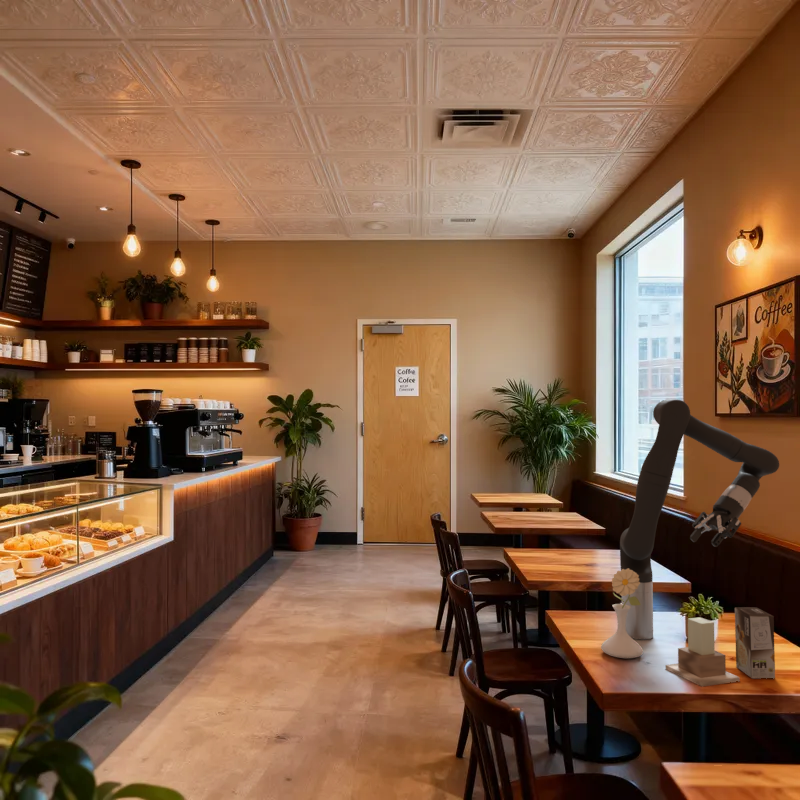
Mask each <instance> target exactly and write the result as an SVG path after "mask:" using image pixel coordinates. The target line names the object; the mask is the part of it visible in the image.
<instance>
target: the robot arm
mask: <svg viewBox="0 0 800 800" xmlns="http://www.w3.org/2000/svg"><path fill="white" fill-rule="evenodd" d="M652 413H653V414H652V415H653V418H654V421H655V422H656V423H657V424H658V428H657V429H658V430H657V433H656V438H655V440H654V442H653V444H652V447H651V449H650V450H649V452H648V454H647V455H646V456H645V459H644V461H643V462H642V466H641V468H640V471H639V476H638V479H637V485H636V489H635V490H636V491H635V502H634V511H633V515H632V518H631V521H630V524H629V527H628V528H626V529H625V530H624V531H623V532H622V533H621V535H620V540H619V561H620V564H619V565H620V571H621V570H622V569H624V570H626V569H628V568H629V569H630V570H632V571H633V572H635V573H637V575H639V577H638V578H639V582H640V584H639V586H638V588H637V589H635V592H634V593H633V594H631V595H630V597H633V596H635V597H636V598H637V599H638V601H639V602H640V604H641V605H636V606H633V605H631V604H630V602H629V599H628V596H629V594H627V595H626V596H621V598H622V599H623V601H624V602H623V601H622V600H621V602H619V604H624V603H625V602H626V600H627V599H628V601H627V602H626V604H625V605H628V606H630V607H631V608H630V609H629V611H628V613H627V616H626V631H627V634H628V635H629V636H630V637H631V638H632V639H633V640H650V639H653V638H654V600H653V598H654V595H653V592H654V591H653V590H654V589H653V588H654V587H653V570H652V561H651V557H652V555H651V554H652V552H653V549H654V547H655V538H656V531H657V528H658V527H657V525H658V522H659V517H660V515H661V513H662V510H663V507H664V503H665V502H666V501H665V500H666V498H667V494H668V492H669V488H670V484H671V480H672V478H673V473H674V469H675V466H676V461H677V457H678V453H679V449H680V445H681V443H682V442H681V441H682V440H683V438H684V435H685V436H687V437H689V438H691V439H693V440H695V441H697V442H698V443H701V444H702V445H704V446H705V447H706V448H708V449H711V451H713V452H716V453H718V454H719V455H720V456H722V457H724V458H726V459H728V460H729V461H732V462H733V463H742V464H741V466H740V468H739V470H738V473H737V476H736V477H735V478H734V479H733V481H732V482H731V483H730V485H729V486H727V488H726V489H725V490H723V492H722V494H721V495H720V496H719V498H718V499H717V500H716V502H715V503H714V504H713V505H712V511H711V513H709V514H707V513H706V512H705V511H702V512H701V513H700V514H699V516H698V517H697V518H696V519H695V520H694V522H693V523H692V525H691V526H692V528H694V530H693V532H692V533H691V534H690V536H689V539H690V540H691V541H692V542H693V543H697V541H698V540H699V538H700V537H701V536H702V534H703V533H705V532H710V531H712V530H717V531H718V532H717V533H716V534H715V535H714V536H713V538H712V539H711V541H710V543H711V545H712V546H713V547H715V548H718V547H719V545H720V544H721V543H722V541H724V539H727V538H731V539H732V538H733V537H734V536H735V535H736V532H737V531H738V529H739V528H740V527H741V525H742V522H741V520H740V519H739V518H740V517H741V515H742V514H743V513H744V512H745V510H746V508H747V507H748V506H749V504H750V503H751V500H752V499H753V497H754V496H755V495H756V493H758V491H759V488H760V486H761V485H760V484H761V483H760V479H762V478H763V477H764V476H767V475H772V474H774V473H776V472H777V471H778V470H779V468H780V460H779V458H778V457H777V456H776V455H775V454H774V453H773V452H772V451H770V450H767V449H766V448H763V447H760V446H757V445H754V444H750V443H747V442H746V441H743V440H742V439H740V438H738V437H737V436H735V435H733V434H731V433H729V432H727V431H724V430H723V429H721V428H718V427H715V426H713V425H711V424H709V423H706V422H704V421H702V420H700V419H698V418H696V417H695V416H693V415H692V414H691V410H690V407H689V405H688V403H686V402H685V401H683V400H681V399H676V398H673V399H672V398H671V399H664V400H661V401H659V402H658V403H657V404H656V405H655V406H654V408H653V412H652ZM630 597H629V598H630Z"/></svg>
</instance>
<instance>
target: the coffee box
mask: <svg viewBox="0 0 800 800" xmlns="http://www.w3.org/2000/svg"><path fill="white" fill-rule="evenodd" d="M774 617H775V616H774V615H772V614H770V613H768V612H766V611H765V610H762V609H761V608H759V607H753V606H751V607H750V606H746V607H745V606H742V607H739V606H738V607H734V624H735V625H734V627H735V628H734V629H735V631H734V632H735V634H734V635H735V664H736V665H735V666H736V668H737V669H739V670H740V671H741V672H742V673H745V675H747V676H748V677H750V678H751V679H761V678H766V679H767V678H773V679H772V680H774V678H775V679H776V664H775V663H776V659H775V625H774V624H775V621H774V620H775V618H774ZM767 680H768V679H767Z"/></svg>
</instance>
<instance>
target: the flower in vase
mask: <svg viewBox="0 0 800 800" xmlns="http://www.w3.org/2000/svg"><path fill="white" fill-rule="evenodd" d="M638 577H639V575H637V573H635V572H633V571H632V570H630V569H629V568H628V569H626V570H624V569H622V570H621V569H620V570H617V571H616V573H615V574H613V577H612V578H611V583H612V584H611V586H612V594H613V596H614V597H616V598H617V599H619V600H620V601H621V602H622V601H623V599H622V596H626V595H627V594H629V596H628V599H629V602H630V604H631V605H633V606H636V605H641V604H640V602H639V601H638V599H637V598H636V597H635V596H633V597H630V595H631V594H633V593H634V592H635V589H637V588H638V586H639V584H640V582H639V578H638ZM615 593H616V594H615ZM617 594H618V595H619V596H618V595H617ZM620 596H621V597H620ZM629 597H630V598H629ZM628 599H627V600H626V602H627V601H628ZM623 602H624V601H623ZM626 602H625V603H624V604H620V603H615V604H611V605H612V608H613V610H614V611H615V614H616V621H617V623H616V624H617V629H616V632H615V633H614V634H612V635H611V636H610V637H608V638H607V639H606V640H604V641H603V643H602V644H601V646H600V648H601V650H602V651H603V653H605V654H606V655H609V656H611V657H614V658H618V659H634V658H639V657H641V656H642V654H644V650H643V648H642V646H641V645H640V644H639V643H638V642H637V641H636V639H634V638H631V637H630V636H629V635H628V634H627V631H626V616H627V613H628V611H629V609H630V608H631V607H630V606H628V605H625V604H626Z"/></svg>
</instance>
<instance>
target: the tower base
mask: <svg viewBox="0 0 800 800" xmlns="http://www.w3.org/2000/svg"><path fill="white" fill-rule="evenodd" d="M677 653H678V654H677V659H678V660H677V661H678V662H677V663H670V664H665V670H666V671H667V670H668V672H669V671H670V672H671V673H673V674H675V675H678V676H679V677H681V678H684V679H685V680H688V681H690V682H692V683H693V684H695V685H698V686H699V687H707V686H708V687H709V686H715V685H716V686H717V685H722V684H728V683H729V684H730V682H731V683H737V682H736V681H738V682H741V681H740V679H741V678H740V676H738V675H735V674H733V673H731V672H728V671H727V668H726V667H727V666H726V664H727V663H726V662H727V661H726V654H724V653H721V652H719V651H717V650H715V654H708V655H700V654H698V653H696V652H694V651H691V650H689V649H688V646H686V647H679V648H677Z"/></svg>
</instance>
